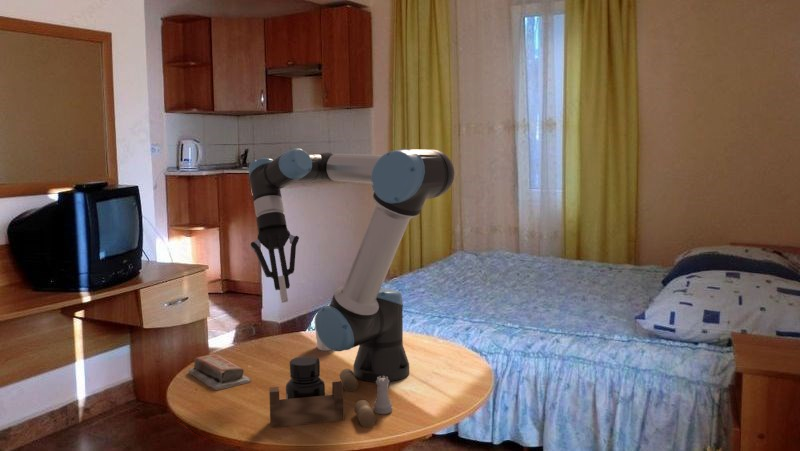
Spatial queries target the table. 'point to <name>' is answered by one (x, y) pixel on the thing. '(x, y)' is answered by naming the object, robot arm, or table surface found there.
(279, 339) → the table surface
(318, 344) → the white cup
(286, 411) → the rail
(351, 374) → the roller
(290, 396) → the ink bottle
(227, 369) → the packaged product
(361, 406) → the roller
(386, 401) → the rook chess piece
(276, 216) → the robot arm
